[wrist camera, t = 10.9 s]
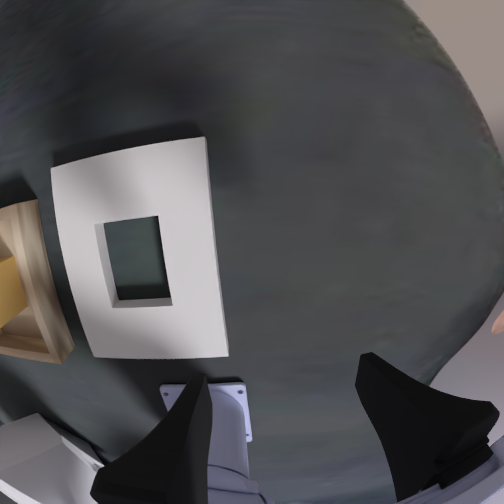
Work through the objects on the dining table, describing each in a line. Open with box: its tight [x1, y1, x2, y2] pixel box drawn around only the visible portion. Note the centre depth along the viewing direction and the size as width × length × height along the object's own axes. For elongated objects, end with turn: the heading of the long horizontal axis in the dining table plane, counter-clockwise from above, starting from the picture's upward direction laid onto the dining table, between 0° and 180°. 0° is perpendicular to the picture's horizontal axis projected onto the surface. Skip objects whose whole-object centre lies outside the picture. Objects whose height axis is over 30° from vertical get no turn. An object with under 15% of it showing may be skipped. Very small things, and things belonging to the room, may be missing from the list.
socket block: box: [51, 137, 228, 359], centre depth 19 cm, size 16×12×2 cm
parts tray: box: [0, 199, 75, 364], centre depth 18 cm, size 14×12×3 cm
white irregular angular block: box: [0, 413, 104, 504], centre depth 18 cm, size 17×24×17 cm
